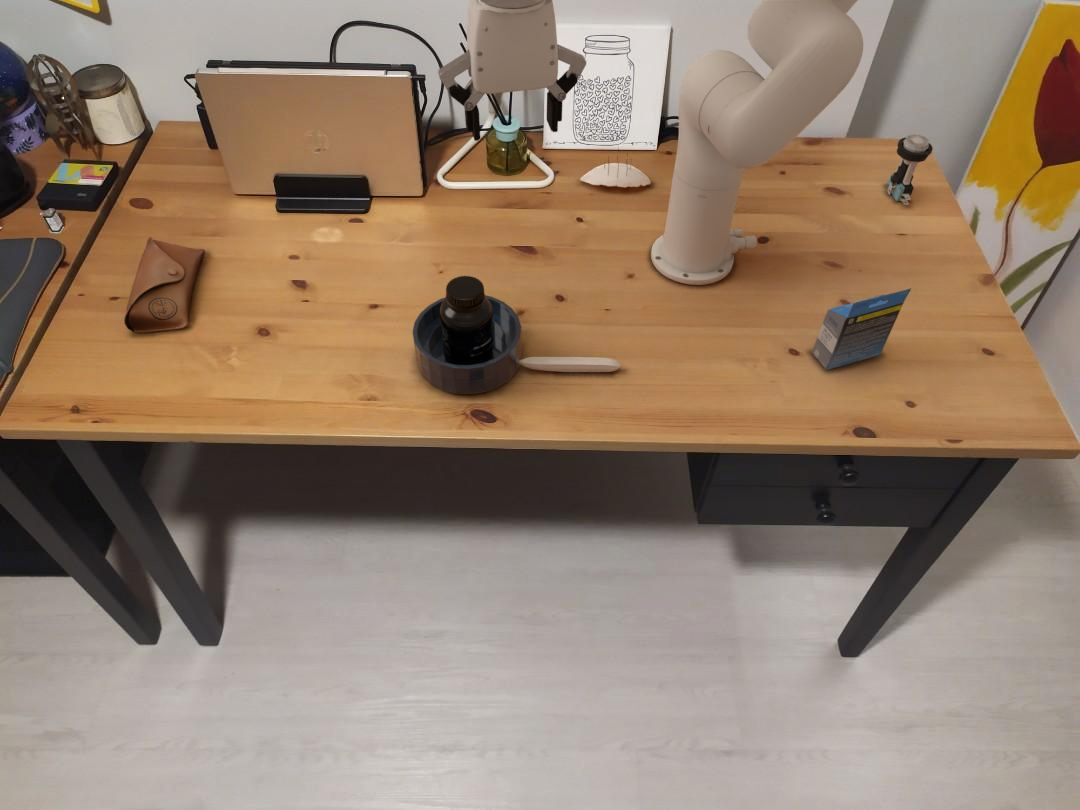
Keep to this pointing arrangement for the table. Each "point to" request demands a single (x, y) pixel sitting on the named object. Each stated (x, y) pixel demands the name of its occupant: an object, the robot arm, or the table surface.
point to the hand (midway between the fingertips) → (514, 130)
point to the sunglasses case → (162, 288)
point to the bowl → (468, 376)
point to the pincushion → (616, 175)
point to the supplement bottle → (467, 322)
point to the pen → (571, 364)
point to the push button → (908, 165)
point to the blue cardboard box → (857, 330)
